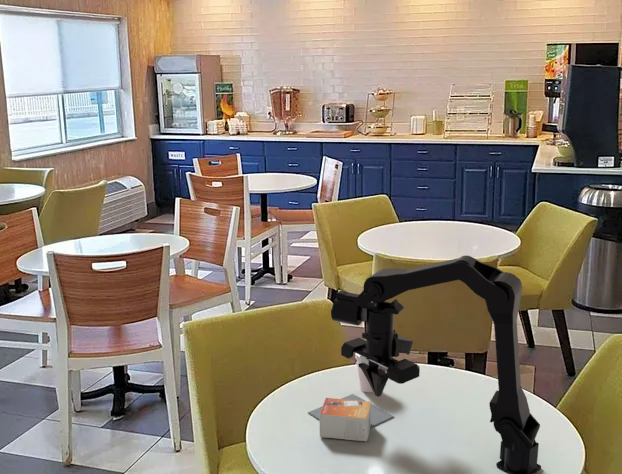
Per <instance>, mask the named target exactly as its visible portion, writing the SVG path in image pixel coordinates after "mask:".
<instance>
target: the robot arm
mask: <svg viewBox="0 0 622 474" xmlns="http://www.w3.org/2000/svg"><path fill="white" fill-rule="evenodd" d="M454 281H460V282H463V283H464V284H465V285H466V286H467V287H468V288H469V290H471V291H472V292H473V293H474V294H475V295H477V296H478V297H480V298H482V299H483V300H484V302H485V304H486V308H487V312H488V314H489V316H490V318H491V320H492V323H493V325H494V326H493V327H494V329H493V330H494V338H495V339H494V343H495V355H496V366H497V368H496V370H497V371H496V372H497V383H498V385H497V386H498V390H496V391H495V393H494V394H493V396H492V398H491V399H490V401H489V410H490V415H491V417H490V420H489V422H490V423H493V428H494V430H495V431H496V432H497V433H498V434H499V435H500V439H501V441H500V448H499V449H500V450H499V461H497V462H496V467H498V468H499V469H500V470H501V469H502V470H503V471H505V472H507V473H509V474H535V473H537V472H538V471H540V470H541V469H542V465H541V464H539V463H538V456H539V445H540V443H539V442H537V441H536V437H537V434H538V432H539V430H540V428H541V424H540V422H539V421H537V419H536V418H535V416H534V415H533V414H532V413H531V412H530V407H529V403H528V399H527V396H526V394H525V392H524V390H523V388H522V385H521V383H522V382H521V368H520V353H519V339H518V338H519V335H518V333H519V332H518V315H519V312H520V311H519V310H520V305H521V299H522V292H523V283H522V281H521V279H520V278H519V277H518V276H517V275H515V274H513V273H511V272H508V271H507V272H504V271H502V270H501V269H499V268H498V267H495V266H493V265H490V264H487V263H486V262H485V263H484V262H482V261H480V260H478V259H476V258H475V257H473V256H471V255H462V256H460V257H458V258H453V259H449V260H444V261H439V262H435V263H431V264H426V265H421V266H418V267H414V268H413V267H412V268H408V269H407V268H405V269H403V268H397V267H395V268H394V267H393V268H382V269H379V270H378V271H376V272H375V273H372V275H370V276H369V277H367V278H366V279H365V281H364V283H363V287H362V288H363V290H362V292H360V293H352V292H349V291H345V290H342V289H341V290H339V291H337V292H336V293H335V299H334V301H333V303H332V308H331V309H330V317H331V319H332V321H333V322H336V323H337V322H338V323H344V324H347V325H353V326H360V325H361V324H362V323H364V322H365V323H366V324H365V325H366V327H365V328H366V329H365V332H362V333H361V337H357V338H354V339H350V340H348V341H345V342H343V344H342V345H341V347H340V350H341V351H340V352H341V353H340V354H341V356H342V357H344V358H347V359H348V360H350V359H352V358H353V357H354V353H357V354H359V355H361V356H360V358H361V363H360V364H358V366H359V367H360V368H361V369H362V371H363V373H364V375H365V376H366V378H367V380H368V382H369V384H370V386H371V388H372V390H373V392H372V393H373V394H374V396H376V397H377V398H378V397H381V396H382V394H383V392H384V389H385V387H386V385H387V382H388V381H389V380H390V381H393V382H394V383H397V384H401V385H402V384H405V383H407V382H410V381H412V380H414V379H417V378H419V377H420V370H421V369H420V365H418V364H417V363H415V362H413V361H411V360H409V359H407V358H403V359H401V360H398V359H396V358H397V357H399V356H400V354H404V355H405V354H406V355H408V356H409V355H410V354H411V351H412V346H413V343H414V340H412V339H410V338H408V337H405V336H403V335H402V334H401V335H400V334H398V332H396V330H395V329H394V326H395V325H394V323H395V322H394V321H395V320H394V319H395V315H399V314H400V313H401V312H402V311H403V310H404V309H405V307H404V306H403V304H401V303H400V302H399V301H398V300H397V298H395V297H397V296H399V295H401V294H403V293H406V292H408V291H413V290H416V289H421V288H425V287H426V288H427V287H430V286H435V285H440V284H446V283H450V282H454ZM393 298H395V299H394V300H392V301H388V300H391V299H393ZM365 339H366V341H365ZM358 366H357V367H358Z"/></svg>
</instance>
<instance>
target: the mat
mask: <svg viewBox="0 0 622 474" xmlns="http://www.w3.org/2000/svg"><path fill="white" fill-rule="evenodd" d="M341 399H346V400H357V401H366V400H365V399H363V398H361V397H359V396H358V395H356V394H354V393H352V394H349V395H346V396H344V397H342V398H341ZM321 409H322V406H320V407H318V408H314V409H313V410H310V411H308V412H307V414H308V415H310V416H312V417H313V418H314V419H317V420H318V421H320V419H319V417H320V412H321ZM393 418H395V415H392V414H391V413H390V412H388V411H386V410H384V409H381V407H378V406H377V405H375V404H372V405H371V426H370V429H372V428H375V427H376V426H379V425H380V424H383V423H384V422H387V421H389V420H391V419H393Z"/></svg>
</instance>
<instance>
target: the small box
mask: <svg viewBox="0 0 622 474" xmlns="http://www.w3.org/2000/svg"><path fill="white" fill-rule="evenodd" d="M372 403H373V402H372V401H368V400H365V401H357V400H346V399H342V398H335V397H334V398H333V397H325V399H324V402H323V404H322V406H321V407H322V409H321V412H320V417H319V419H320V420H319V438H325V439H326V438H327V439H337V440H347V441H349V440H350V441H358V442H368V439H369V435H370V431H371V430H370V429H371V428H370V426H371V405H372Z"/></svg>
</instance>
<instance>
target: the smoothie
mask: <svg viewBox="0 0 622 474" xmlns="http://www.w3.org/2000/svg"><path fill="white" fill-rule="evenodd" d="M364 340H365V341H366V339H364ZM354 353H355V352H354ZM354 356H355V357H354V358H355V359H356V365H357V372H358V379H359V388H360V391H361V392H363V393H374V392H373V390H372V388H371V386H370V384H369V382H368V380H367V378H366V376H365V375H364V373H363V371H362V369H361V368H360V367H359V366H358V364H360V363H361V358H360V356H361V355H359V354H357V353H355V355H354Z"/></svg>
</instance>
